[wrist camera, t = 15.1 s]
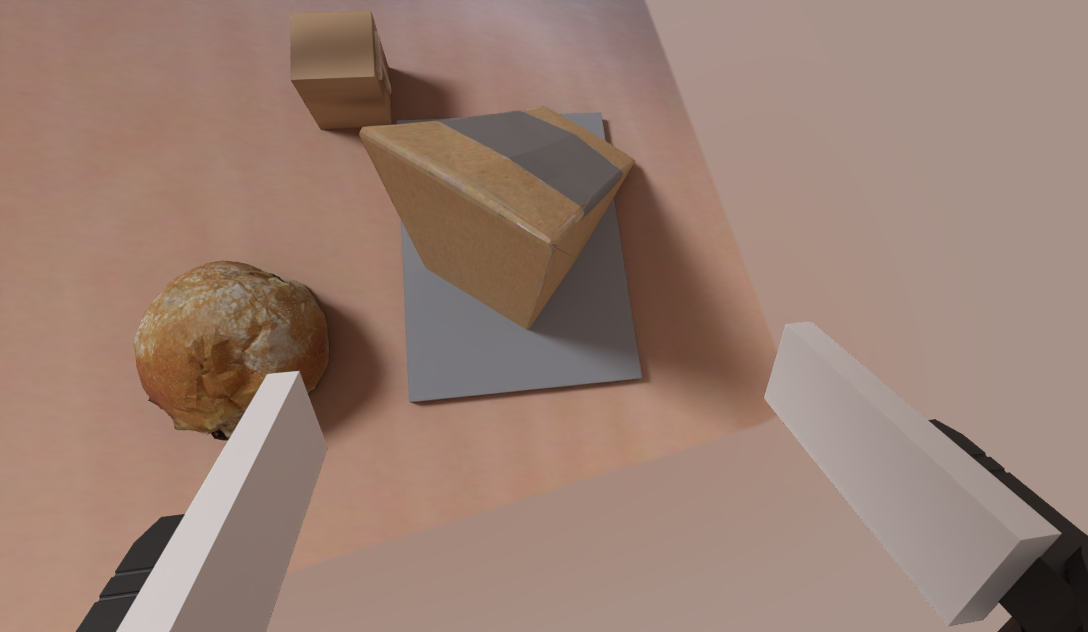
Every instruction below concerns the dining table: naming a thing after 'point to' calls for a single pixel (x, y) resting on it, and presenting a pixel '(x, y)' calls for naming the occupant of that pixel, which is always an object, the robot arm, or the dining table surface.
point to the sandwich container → (499, 199)
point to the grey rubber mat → (505, 347)
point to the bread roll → (226, 343)
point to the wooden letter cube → (340, 69)
